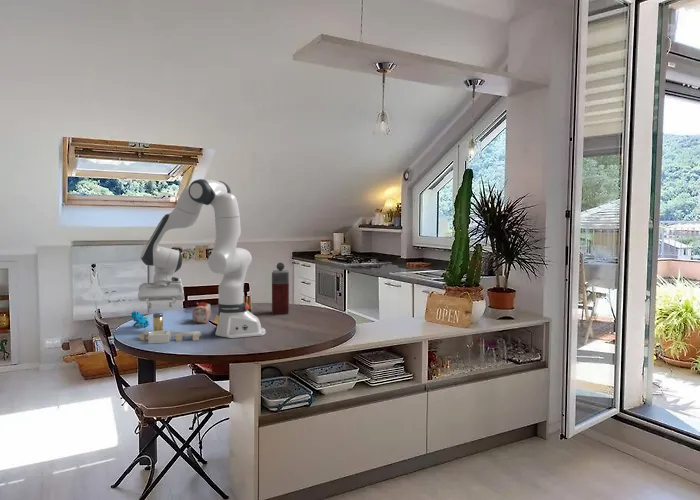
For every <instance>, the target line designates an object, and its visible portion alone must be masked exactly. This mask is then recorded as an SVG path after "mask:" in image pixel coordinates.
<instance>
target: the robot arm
mask: <svg viewBox="0 0 700 500" xmlns="http://www.w3.org/2000/svg"><path fill="white" fill-rule="evenodd" d="M204 205H206V206H209V205H210V206H212V207H213V210H214V211H213V212H214V222H215V223H214V225H215V240H214V244H213V245H214V246H213V249H212V252H211V253H210V254H209V256H208V258H207V264H208V268H209V270H211V271H212V272H213V273H214V274H221V275H223V277H222V280H221V282H220V283H219V284H218V303H217V317H218V318H217V326H216V331H215V333H214V334H215V336H218V337H223V338H226V339H227V338H228V339H236V338H238V339H239V338H247V337H249V338H250V337H258V336H259V337H260V336H264V335H265V334H266V328H264V327H262V325H261V321H260V319H259V317H258V316H256V315H254V314H253V312H252V313H251V312H249V311H248V308H249V305H248V304H247V303H246V302H245V303H244V302H243V296H244V291H245V289H244V288H245V287H244V286H245V280H246V276H247V271H248V269H249V267H250V266H251V264H252V262H253V258H252V254H251V252H250V251H249V250H247V249H246V248H242V247H237V245H238V241H239V238H240V237H241V235H242V227H241V217H240V216H241V215H240V208H239V203H238V199H237V197H236V196H235V194H232V193H231V187H229V185H228V184H227V183H225V182H224V181H221V180H220V181H219V180H215V179H210V178H209V179H205V178H204V179H203V178H199V179H195V180H193V181H192V182H191V183H190V184H189V186H186V187H184V188H183V189H182V191H181V193H180V195H179V197H178V200H177V202H176V204H175V207H174V209H173V210H171V212H169V213H167V214H164V216H163V217H162V218H161V220H160V221H159V223H158V224H157V226H156V227H155V229H154V231H153V233H152V235H151V236H150V238H149V240H148V242H147V243H146V244H145V246H144V247H143V248H142V251H141V253H140V260H141V261H142V262H143V264H144V265H145V266H150V267H151V266H152V267H153V266H154V270H153V271H154V274H153V277H152V278H153V280H152V282H143V283H142V284H139V286H138V294H137V297H138V300H139V302H146V305H147V309H152V302H157V301H170V302H168V303H169V304H168V308H173V307H174V304H176V301H183V300H184V299H185V293H184V285H183V281H182V279H181V278H180V277H176V276H173V274H175V273H176V272H178V271H179V270H180V269H182V268H181V267H182V265H183V254H182V252H181V251H180V250H177V249H173V248H169V247H164V246H160V245H159V244H160V242H161V240H162V238H163V237H164V235H165V234H166V233H167V232H168V231H170V230H176V229H185V228H189V227H191V226H193V225H194V224H195V223H196V222H197V220H198V218H199V216H200V213H201V210H202V207H203V206H204Z"/></svg>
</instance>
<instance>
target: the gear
mask: <svg viewBox="0 0 700 500" xmlns="http://www.w3.org/2000/svg"><path fill="white" fill-rule="evenodd" d="M130 314H131V315H130V317H131V319H132V321H133V322H134V323H133V324H132V327H134V328H135V327H136V326H137V325H138V326H140V327H142V328H143V327H144V328H147V327H148V326H149V325H150V324H149V323H150V321H149V320H148V316H145V315H144V314H143V313H140V312H139V311H136V310H133V312H131V313H130ZM144 316H145V317H144Z"/></svg>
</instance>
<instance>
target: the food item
mask: <svg viewBox="0 0 700 500" xmlns="http://www.w3.org/2000/svg"><path fill="white" fill-rule="evenodd" d="M196 305H197V306H196V307H193V309H192V321H193V323H195V324H207V323H208V322H209V320H210V319H211V317H212V308H211V307H212V306H211V304H210V303H207V302H204V301H202V302H196Z"/></svg>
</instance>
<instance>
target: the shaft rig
mask: <svg viewBox="0 0 700 500" xmlns="http://www.w3.org/2000/svg"><path fill="white" fill-rule="evenodd" d="M149 332H150V334H149V335H148V339H147V341H148V344H168V343H169V342H170V340H171V338H175V342H182V341H183V337H192V341H199V340H200V337H201V336H202V332H201V331H200V330H199V331H197V330H195V331H172V332H171V330H163V331H153V330H151V331H149Z"/></svg>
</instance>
